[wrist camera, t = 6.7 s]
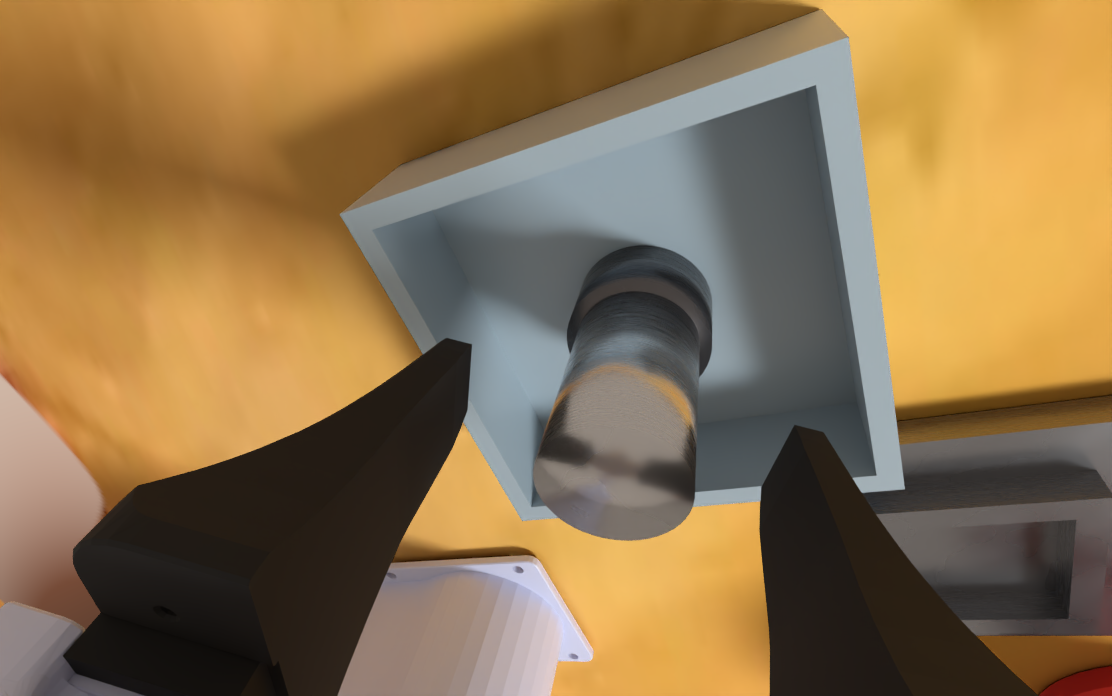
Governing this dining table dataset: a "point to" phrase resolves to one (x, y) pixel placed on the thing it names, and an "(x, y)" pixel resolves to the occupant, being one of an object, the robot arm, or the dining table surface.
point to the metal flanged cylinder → (629, 397)
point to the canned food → (1083, 684)
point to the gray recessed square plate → (1010, 515)
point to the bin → (669, 222)
